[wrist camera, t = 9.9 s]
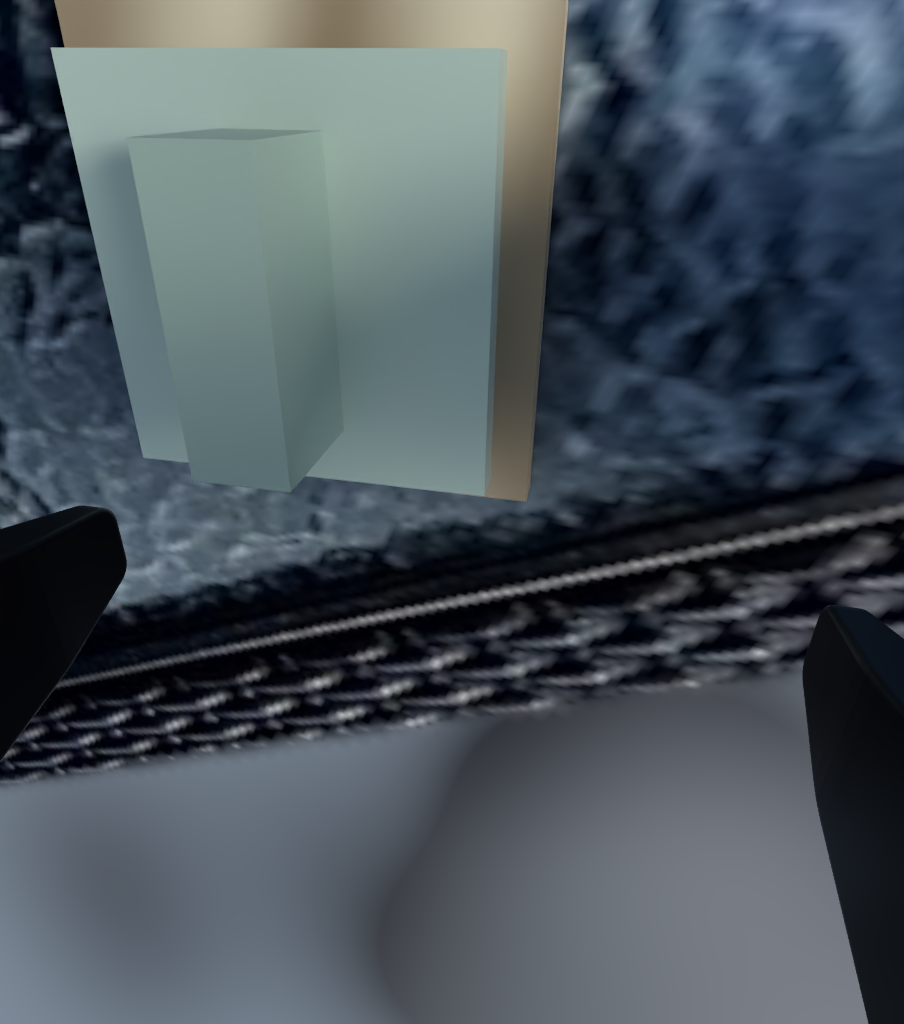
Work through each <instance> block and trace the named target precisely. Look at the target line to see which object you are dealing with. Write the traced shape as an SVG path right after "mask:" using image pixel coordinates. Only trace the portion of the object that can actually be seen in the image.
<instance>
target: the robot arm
mask: <svg viewBox="0 0 904 1024" xmlns="http://www.w3.org/2000/svg"><path fill="white" fill-rule="evenodd" d="M126 567H127V560H126V555H125V551H124V547H123V543H122V539H121V535H120V532H119V528H118V524H117V520H116V517H115V516H114V514H113V513H112V512H111V511H110V510H108V509H106V508H99V507H91V506H84V505H83V506H76V507H72V508H69V509H66V510H63V511H59V512H56V513H53V514H49V515H46V516H43V517H39V518H36V519H33V520H29V521H26V522H23V523H19V524H16V525H13V526H9V527H6V528H3V529H0V761H1V760H2V758H3V757H4V756H5V754H6V753H7V752H8V750H9V749H10V748H11V746H12V745H13V744H14V742H15V741H16V740H17V738H18V737H19V736H20V734H21V733H22V732H23V730H24V729H25V727H26V726H27V725H28V723H29V722H30V721H31V719H32V718H33V717H34V715H35V714H36V713H37V711H38V710H39V709H40V707H41V706H42V705H43V703H44V702H45V701H46V699H47V698H48V696H49V695H50V694H51V692H52V691H53V690H54V688H55V687H56V686H57V684H58V683H59V682H60V680H61V679H62V677H63V676H64V675H65V673H66V672H67V670H68V669H69V667H70V666H71V664H72V663H73V661H74V660H75V658H76V656H77V655H78V653H79V652H80V650H81V648H82V647H83V645H84V643H85V642H86V640H87V638H88V637H89V635H90V633H91V632H92V630H93V628H94V626H95V625H96V623H97V621H98V620H99V618H100V616H101V615H102V613H103V611H104V610H105V608H106V606H107V605H108V603H109V601H110V600H111V598H112V596H113V595H114V593H115V591H116V590H117V588H118V586H119V585H120V583H121V581H122V580H123V578H124V575H125V572H126ZM803 688H804V698H805V707H806V716H807V725H808V735H809V743H810V753H811V763H812V772H813V781H814V789H815V796H816V801H817V807H818V812H819V816H820V821H821V825H822V830H823V833H824V838H825V842H826V846H827V851H828V854H829V859H830V863H831V868H832V872H833V876H834V880H835V884H836V889H837V893H838V897H839V901H840V906H841V910H842V914H843V918H844V922H845V926H846V931H847V935H848V939H849V943H850V948H851V952H852V956H853V960H854V964H855V969H856V973H857V977H858V981H859V985H860V990H861V994H862V998H863V1002H864V1006H865V1011H866V1015H867V1019H868V1024H904V639H903V638H902V637H901V636H899V635H898V634H897V633H895V632H894V631H893V630H891V629H890V628H889V627H888V626H886V625H885V624H884V623H882V622H881V621H880V620H879V619H877V618H876V617H875V616H873V615H872V614H871V613H869V612H868V611H866V610H864V609H860V608H852V607H844V606H836V605H829V606H827V607H825V608H824V609H823V610H822V612H821V613H820V616H819V619H818V621H817V624H816V627H815V630H814V633H813V636H812V639H811V642H810V645H809V648H808V651H807V654H806V657H805V660H804V665H803Z"/></svg>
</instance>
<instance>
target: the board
mask: <svg viewBox="0 0 904 1024" xmlns="http://www.w3.org/2000/svg"><path fill="white" fill-rule="evenodd" d="M55 4H56V9H57V14H58V18H59V23H60V28H61V32H62V37H63V42H64V46H65V48H501V49H505V50H508V65H507V89H506V113H505V138H504V162H503V187H502V211H501V236H500V260H499V284H498V309H497V333H496V358H495V382H494V407H493V431H492V455H491V479H490V482H489V485H488V487H487V490H486V493H485V495H484V496H481V497H490V498H498V499H507V500H515V501H523V502H526V501H527V498H528V494H529V490H530V480H531V467H532V454H533V442H534V429H535V417H536V404H537V391H538V379H539V366H540V353H541V341H542V328H543V316H544V303H545V290H546V278H547V265H548V252H549V240H550V227H551V215H552V202H553V189H554V177H555V164H556V151H557V139H558V126H559V114H560V101H561V88H562V76H563V63H564V51H565V38H566V25H567V13H568V0H55ZM397 487H398V486H397ZM406 488H407V487H406ZM414 489H416V488H414ZM422 490H425V489H422ZM431 491H433V490H431ZM439 492H442V491H439ZM448 493H451V492H448ZM456 494H460V493H456ZM464 495H469V494H464ZM473 496H478V495H473Z"/></svg>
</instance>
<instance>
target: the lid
mask: <svg viewBox="0 0 904 1024" xmlns="http://www.w3.org/2000/svg"><path fill="white" fill-rule="evenodd" d="M51 52H52V56H53V61H54V65H55V69H56V74H57V78H58V83H59V87H60V92H61V96H62V100H63V105H64V109H65V114H66V118H67V123H68V127H69V131H70V136H71V140H72V145H73V149H74V154H75V158H76V162H77V167H78V171H79V176H80V180H81V185H82V189H83V193H84V198H85V202H86V207H87V211H88V216H89V220H90V224H91V229H92V233H93V238H94V242H95V246H96V251H97V255H98V260H99V264H100V269H101V273H102V277H103V282H104V286H105V291H106V295H107V300H108V304H109V308H110V313H111V317H112V322H113V326H114V331H115V335H116V339H117V344H118V348H119V353H120V357H121V362H122V366H123V370H124V375H125V379H126V384H127V388H128V393H129V397H130V401H131V406H132V410H133V415H134V419H135V423H136V428H137V432H138V437H139V441H140V446H141V450H142V454H143V458H150V459H159V460H168V461H177V462H186V463H189V466H190V471H191V477H192V481H197V482H206V483H214V484H223V485H231V486H240V487H248V488H257V489H265V490H273V491H282V492H290V493H291V492H292V490H293V489H294V488H295V487H296V486H297V485H298V483H299V482H300V481H301V480H302V479H303V478H304V476H310V477H318V478H327V479H336V480H345V481H354V482H363V483H371V484H380V485H389V486H398V487H407V488H416V489H425V490H433V491H442V492H451V493H460V494H469V495H478V496H484V495H485V493H486V490H487V487H488V485H489V482H490V479H491V455H492V431H493V407H494V382H495V358H496V333H497V309H498V284H499V260H500V236H501V211H502V187H503V162H504V138H505V113H506V89H507V65H508V50H505V49H501V48H51Z"/></svg>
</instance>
